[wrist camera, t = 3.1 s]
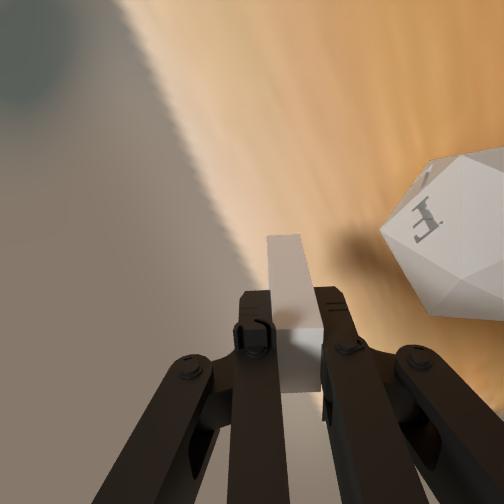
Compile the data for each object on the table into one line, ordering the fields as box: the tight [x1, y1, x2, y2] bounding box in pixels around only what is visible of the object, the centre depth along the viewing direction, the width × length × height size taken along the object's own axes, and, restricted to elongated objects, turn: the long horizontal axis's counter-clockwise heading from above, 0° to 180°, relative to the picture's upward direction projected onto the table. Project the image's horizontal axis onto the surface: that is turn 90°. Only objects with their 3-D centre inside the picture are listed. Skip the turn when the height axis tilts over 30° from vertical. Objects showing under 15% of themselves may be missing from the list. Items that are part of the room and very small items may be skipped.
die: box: [379, 146, 504, 321], centre depth 19 cm, size 8×9×10 cm
